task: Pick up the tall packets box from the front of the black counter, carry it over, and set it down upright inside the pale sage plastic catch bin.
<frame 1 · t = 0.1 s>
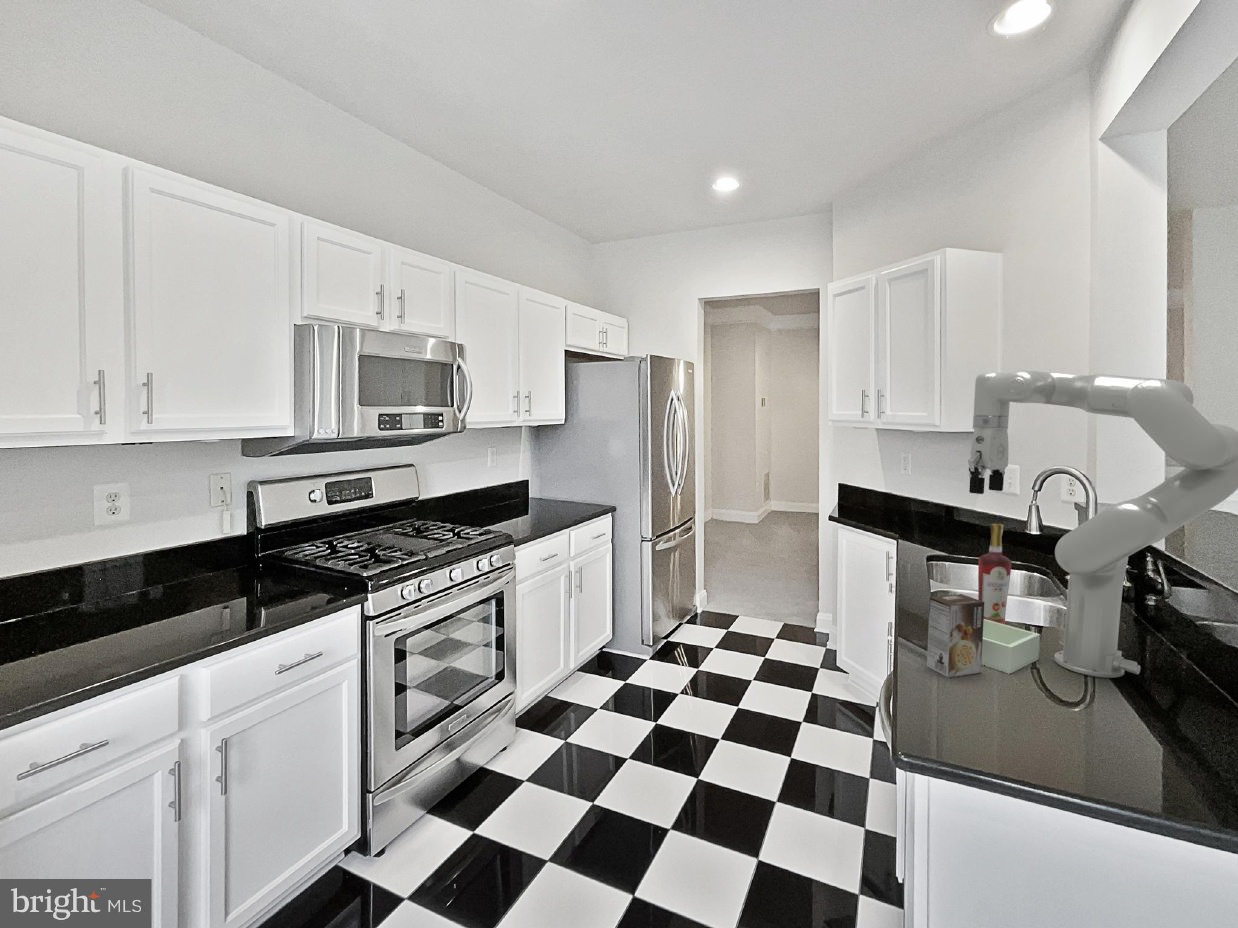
hand: (986, 491, 155), 37 cm above the worktop, tool pointing down, fingers open, 9 cm apart
coffee box: (953, 670, 137), on the worktop
catch bin: (982, 653, 146), on the worktop
liquor: (990, 631, 161), on the worktop
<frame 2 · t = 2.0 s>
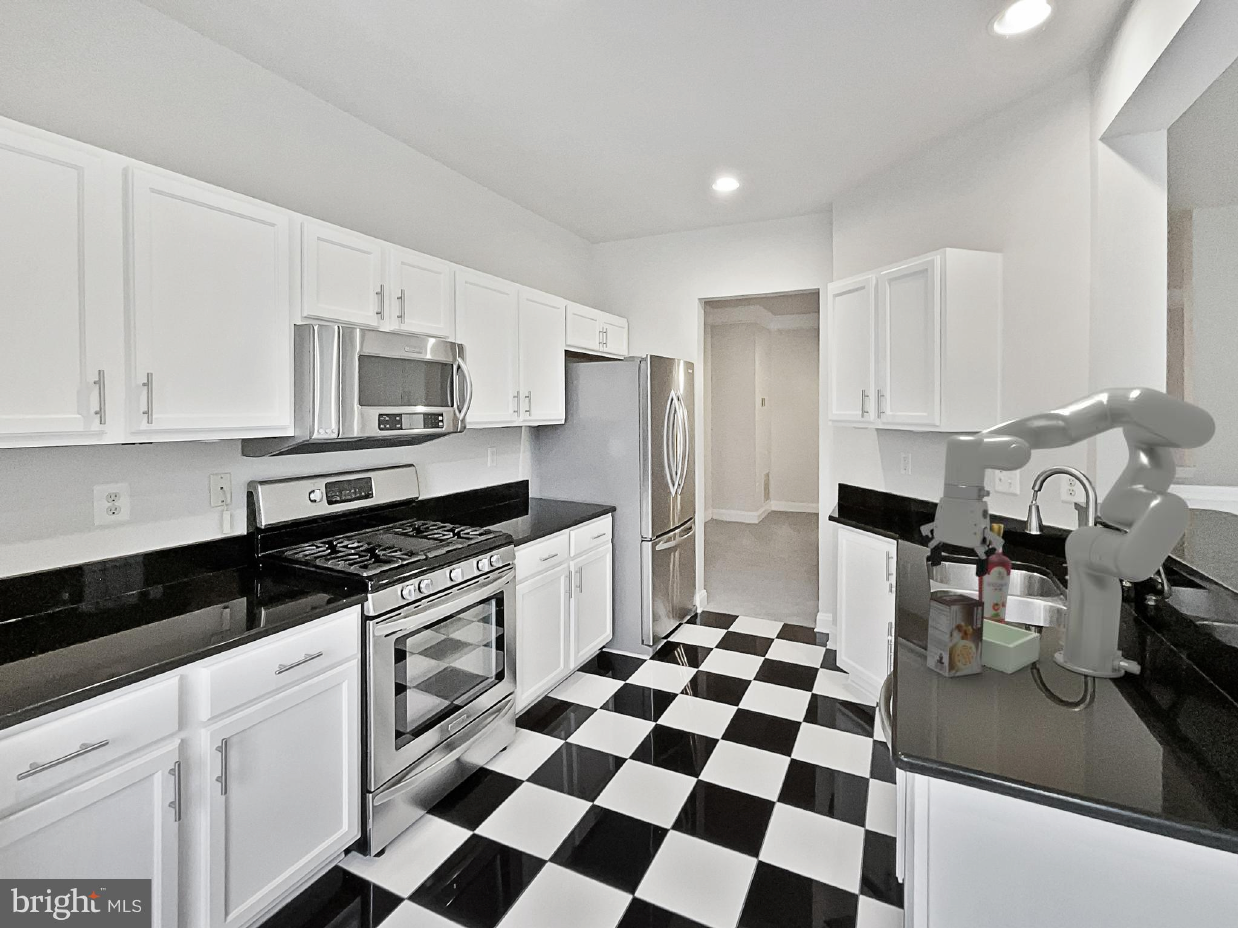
hand: (957, 570, 135), 22 cm above the worktop, tool pointing down, fingers open, 9 cm apart
nothing on the worktop moved.
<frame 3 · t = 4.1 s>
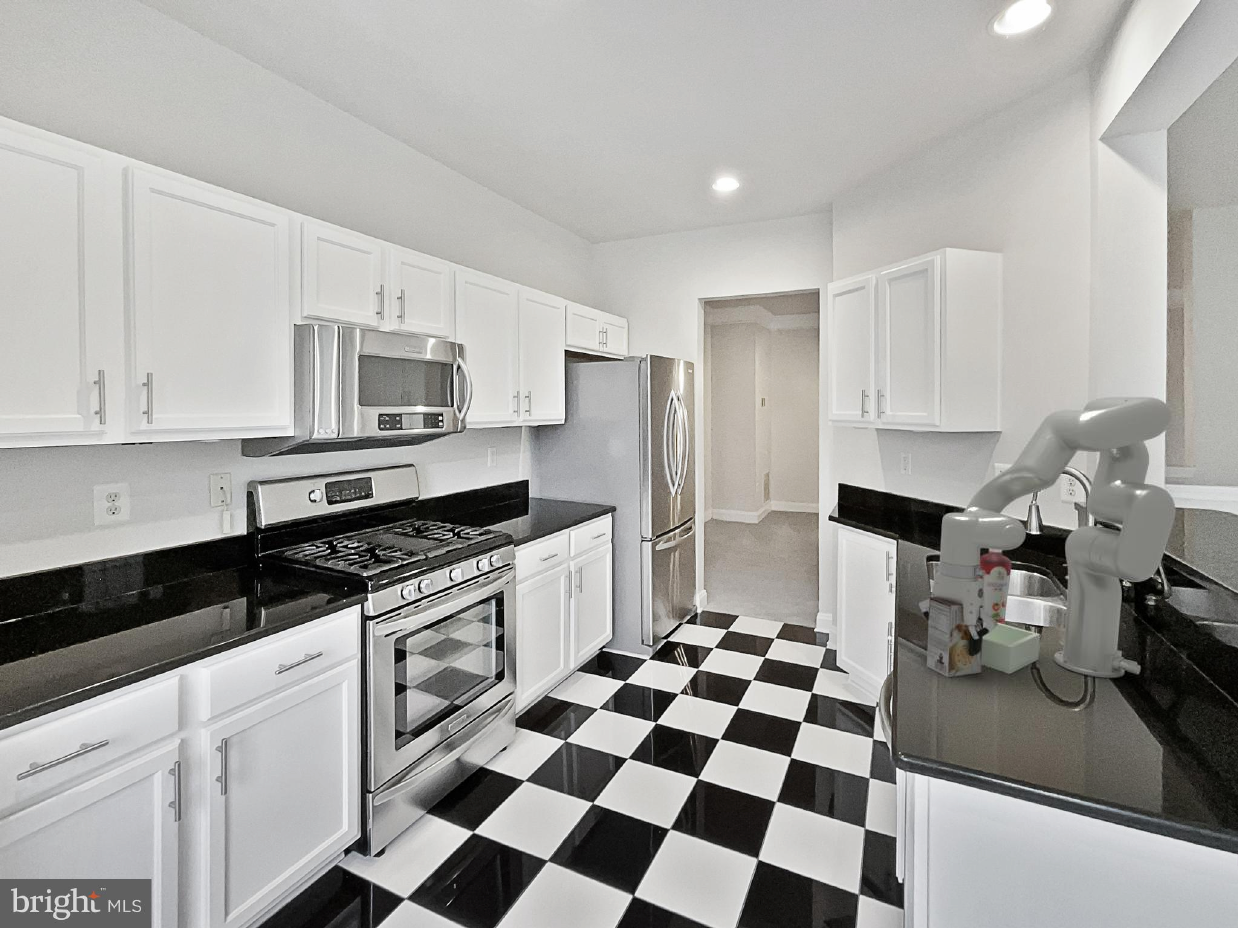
hand: (954, 647, 137), 5 cm above the worktop, tool pointing down, fingers closed on coffee box, 7 cm apart
coffee box: (953, 670, 137), on the worktop, touching gripper
everything else where it was.
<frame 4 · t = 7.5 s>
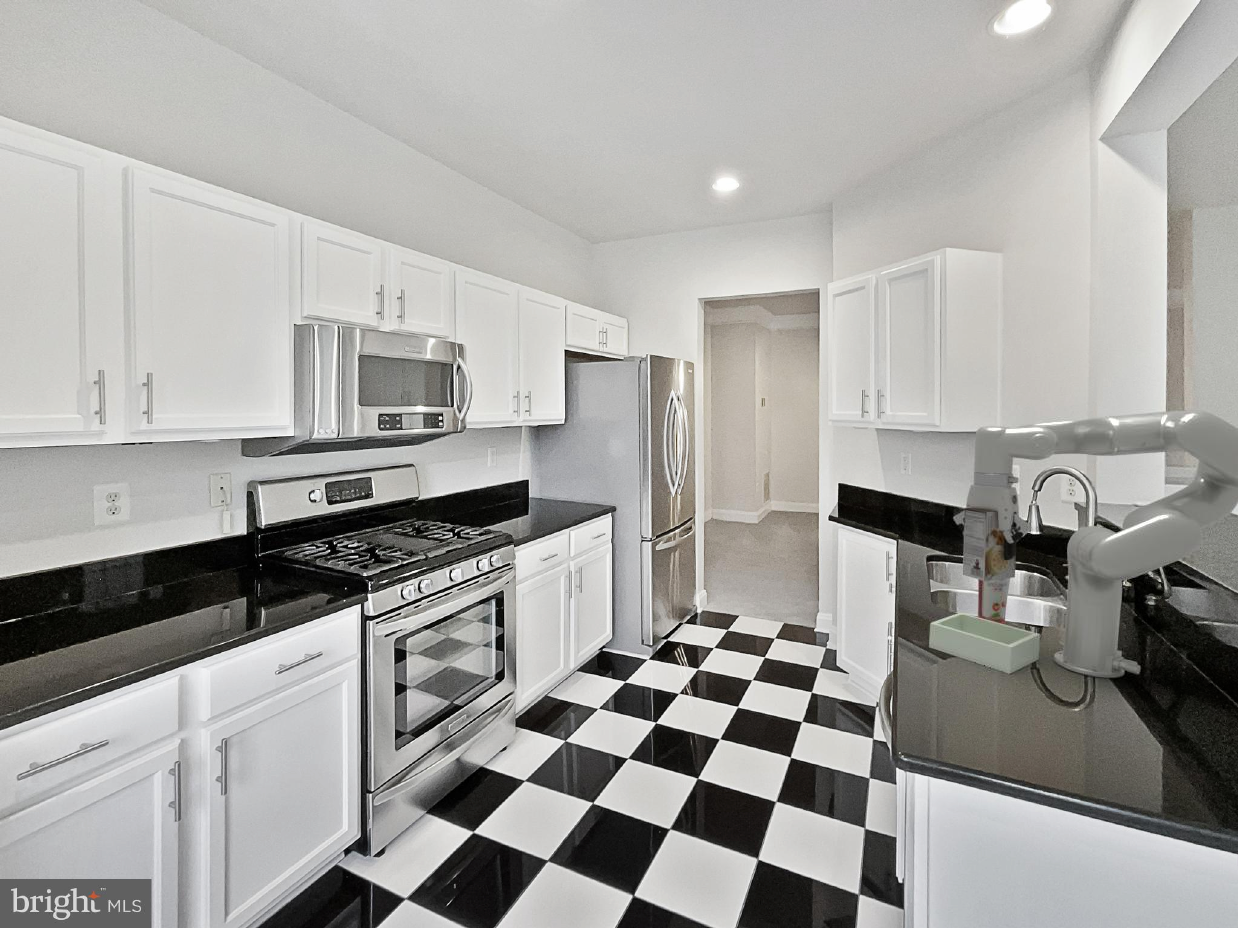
hand: (989, 555, 144), 24 cm above the worktop, tool pointing down, fingers closed on coffee box, 7 cm apart
coffee box: (988, 577, 144), point 18 cm above the worktop, touching gripper
everything else where it was.
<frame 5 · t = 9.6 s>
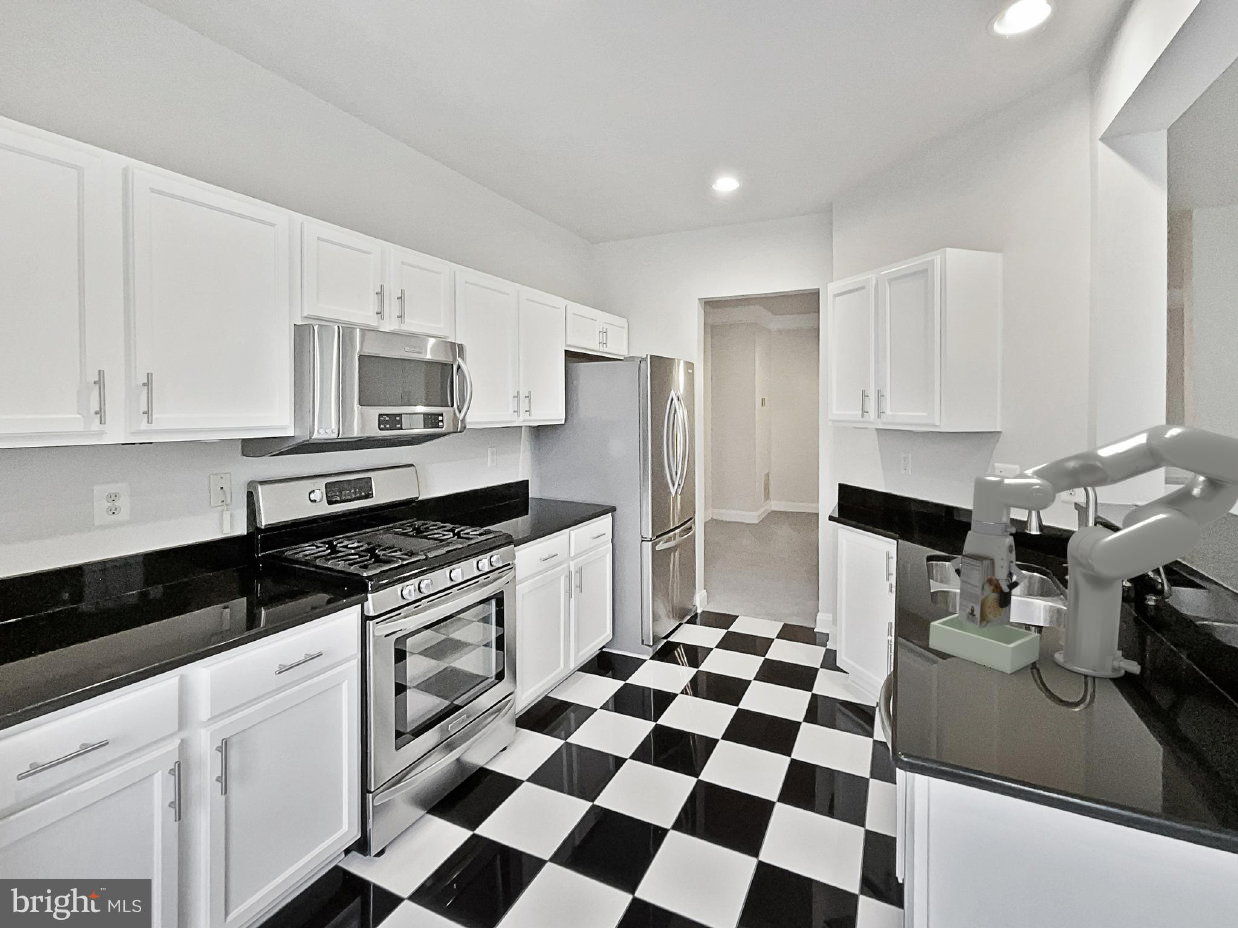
hand: (984, 601, 145), 12 cm above the worktop, tool pointing down, fingers closed on coffee box, 7 cm apart
coffee box: (983, 623, 146), point 7 cm above the worktop, touching gripper
everything else where it was.
when the fingers open (7 cm above the worktop, at t = 11.3 s): coffee box drops 1 cm, resting on catch bin.
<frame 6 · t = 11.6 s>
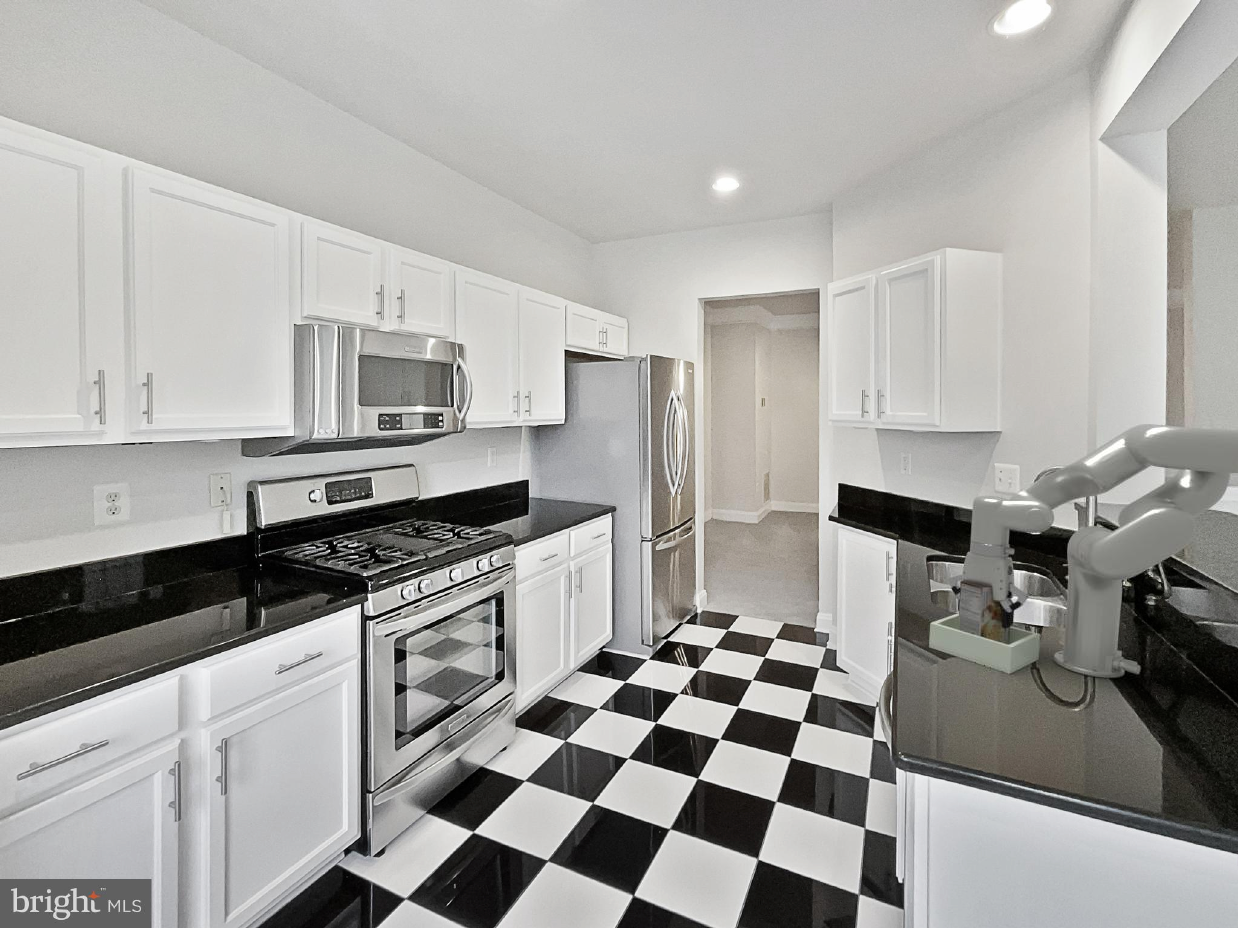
hand: (984, 620, 146), 8 cm above the worktop, tool pointing down, fingers open, 9 cm apart
coffee box: (982, 649, 146), point 1 cm above the worktop, touching catch bin
everything else where it was.
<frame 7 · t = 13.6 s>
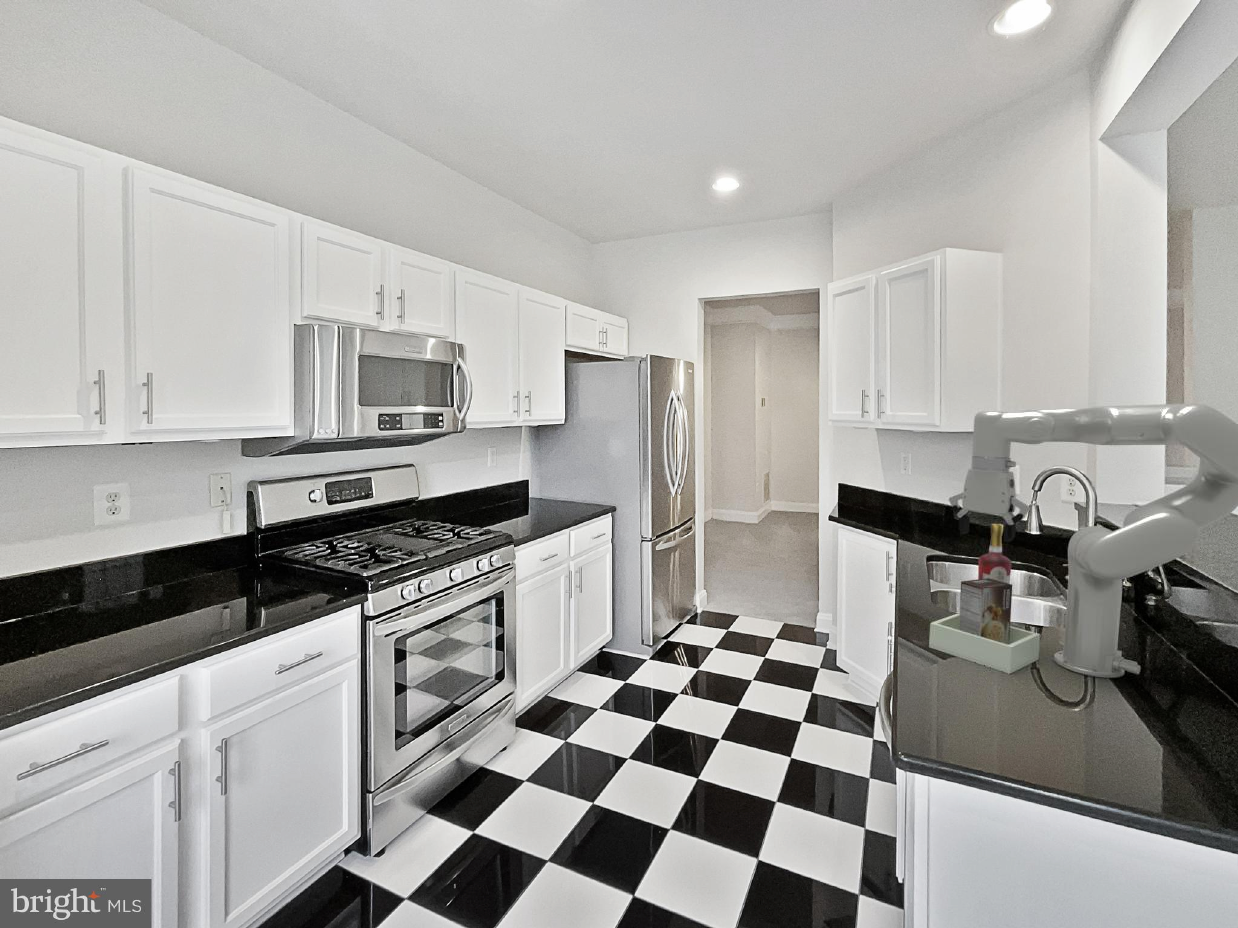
hand: (985, 537, 145), 27 cm above the worktop, tool pointing down, fingers open, 9 cm apart
nothing on the worktop moved.
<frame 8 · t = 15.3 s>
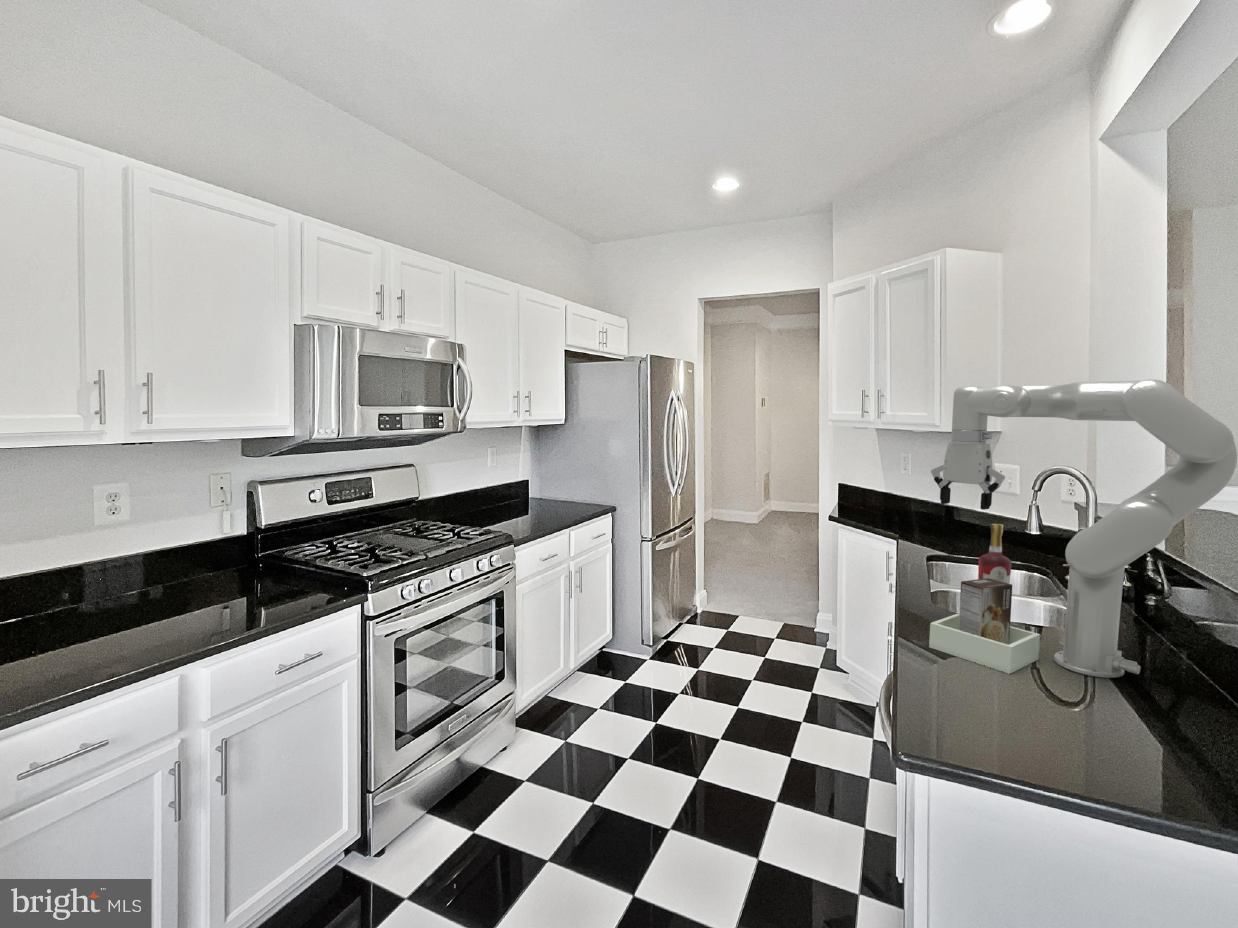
hand: (964, 506, 154), 33 cm above the worktop, tool pointing down, fingers open, 9 cm apart
nothing on the worktop moved.
at the end: coffee box inside the target area on the catch bin (0.1 cm from its centre), point 0.8 cm above the catch bin's base; coffee box tilted 0°; the gripper is holding nothing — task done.
